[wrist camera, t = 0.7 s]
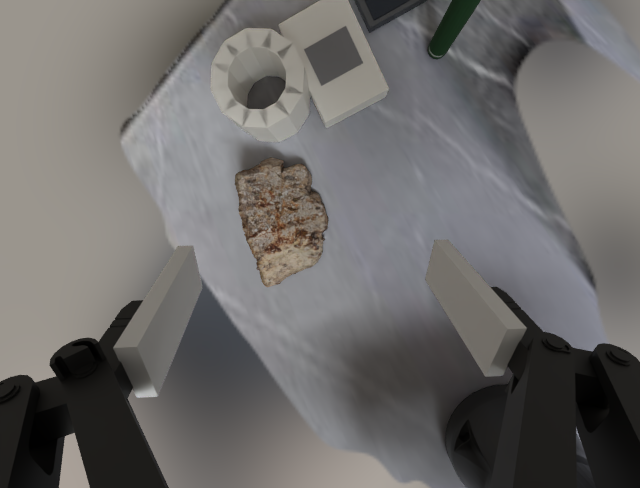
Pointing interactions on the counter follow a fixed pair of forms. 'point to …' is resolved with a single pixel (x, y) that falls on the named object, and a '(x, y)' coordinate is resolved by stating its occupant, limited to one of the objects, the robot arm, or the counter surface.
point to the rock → (281, 218)
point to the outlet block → (299, 71)
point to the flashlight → (451, 26)
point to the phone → (383, 10)
